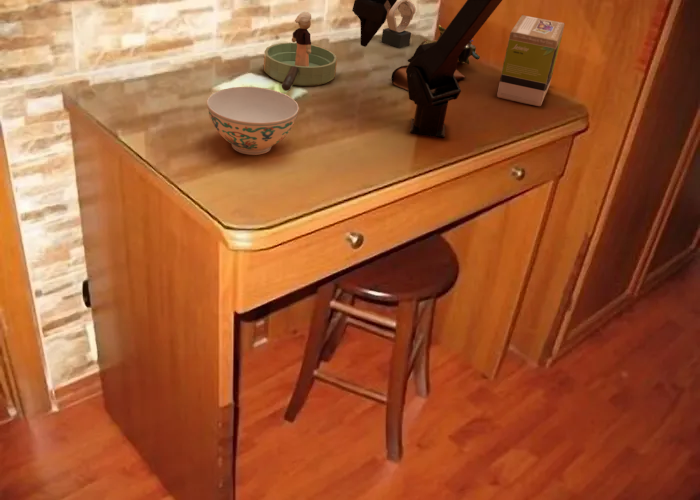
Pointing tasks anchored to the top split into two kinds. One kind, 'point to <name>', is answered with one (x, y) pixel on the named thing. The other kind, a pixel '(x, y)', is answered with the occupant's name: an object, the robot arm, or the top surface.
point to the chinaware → (252, 117)
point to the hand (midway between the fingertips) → (368, 37)
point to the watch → (398, 34)
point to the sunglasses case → (401, 77)
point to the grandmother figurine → (302, 39)
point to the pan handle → (290, 78)
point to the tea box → (530, 60)
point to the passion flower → (465, 53)
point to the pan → (316, 73)
